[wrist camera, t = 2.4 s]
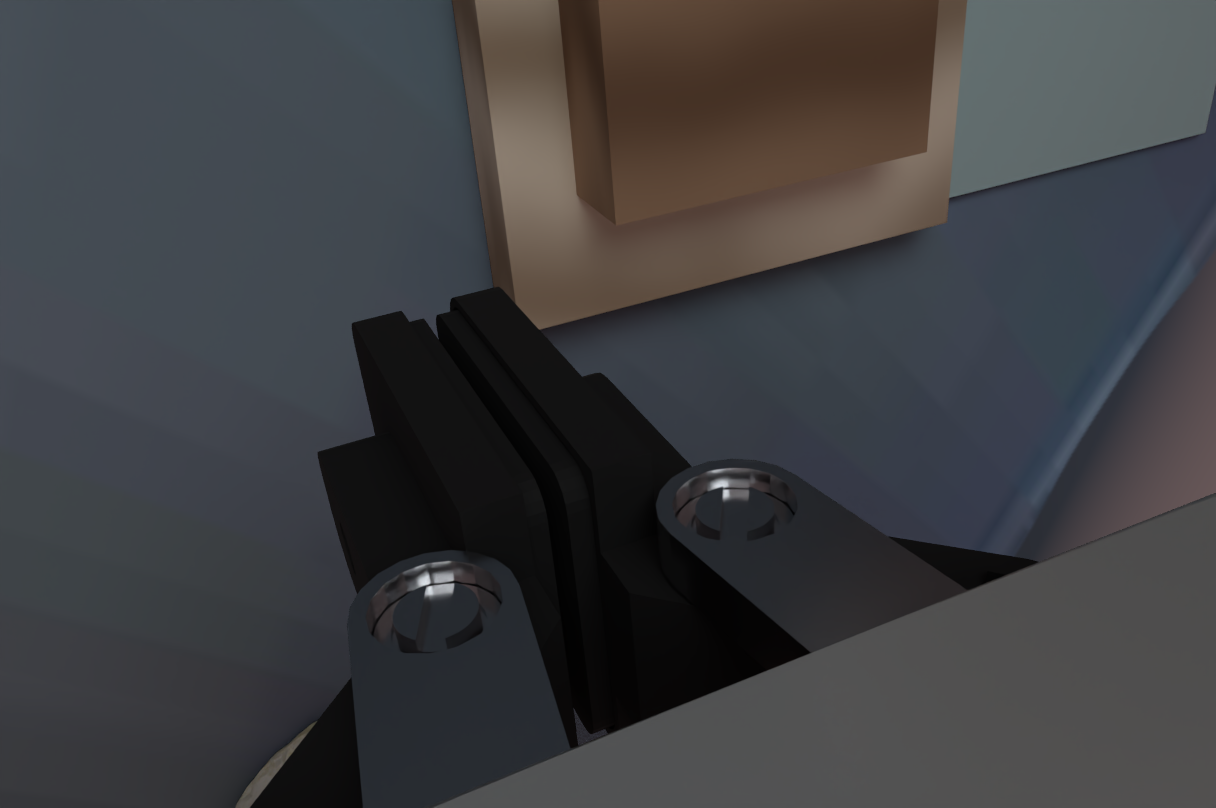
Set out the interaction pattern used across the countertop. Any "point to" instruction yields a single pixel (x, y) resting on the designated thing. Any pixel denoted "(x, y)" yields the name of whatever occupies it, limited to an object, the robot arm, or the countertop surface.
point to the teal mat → (1077, 83)
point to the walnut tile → (739, 95)
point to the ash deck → (670, 243)
